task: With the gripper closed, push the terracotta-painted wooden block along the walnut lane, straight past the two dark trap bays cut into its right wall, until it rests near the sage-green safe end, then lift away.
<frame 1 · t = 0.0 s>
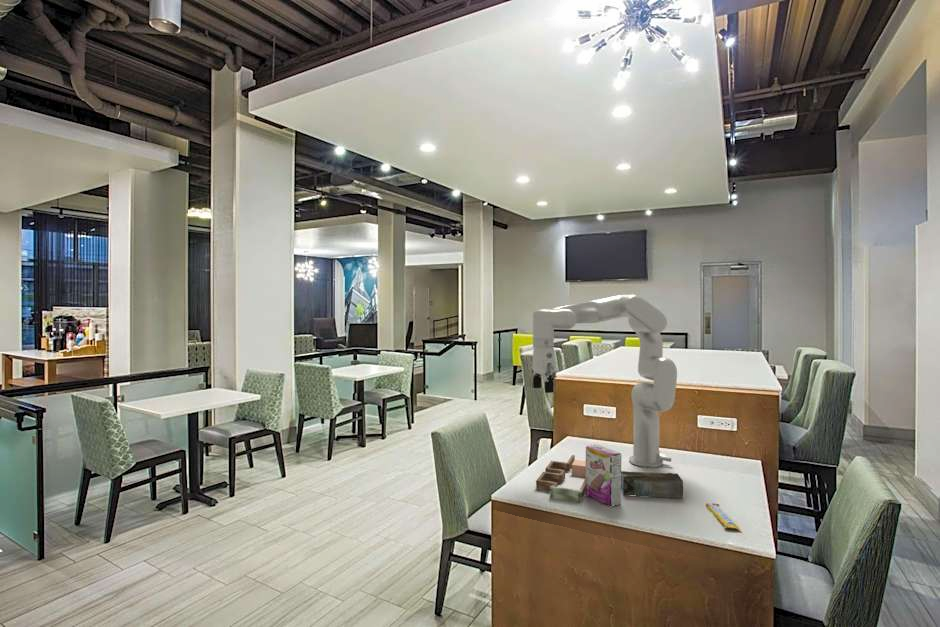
hand: (543, 390, 181), 31 cm above the table, tool pointing down, fingers open, 9 cm apart
block: (580, 473, 184), on the table
dark boxy piece: (650, 494, 165), on the table
candy bar: (721, 520, 146), on the table
trap lane: (576, 480, 176), on the table
candy bar box: (602, 500, 159), on the table
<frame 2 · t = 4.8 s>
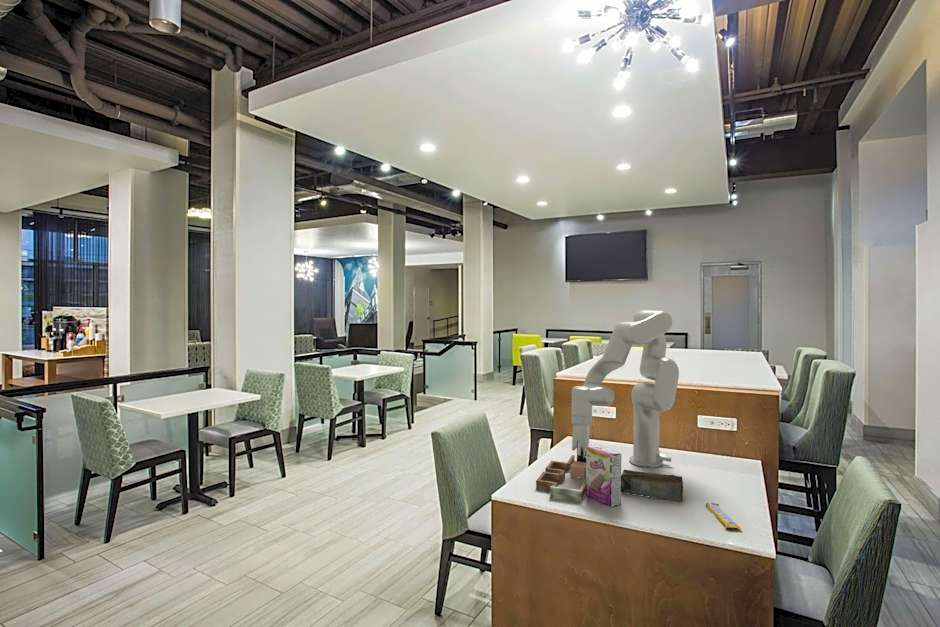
hand: (581, 467, 187), 1 cm above the table, tool pointing down, fingers closed
block: (579, 475, 182), on the table
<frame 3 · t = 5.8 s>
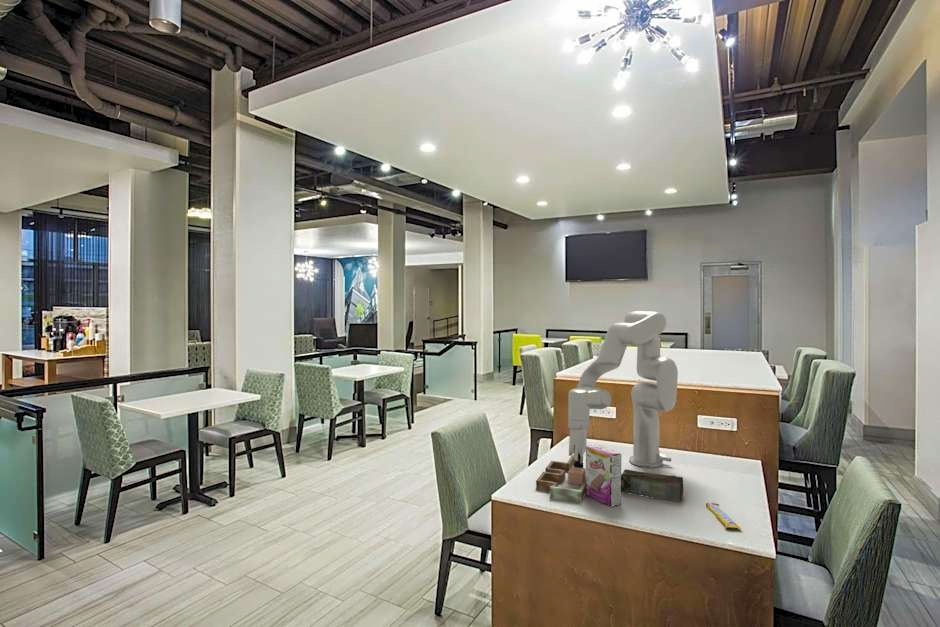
hand: (578, 473, 181), 1 cm above the table, tool pointing down, fingers closed
block: (576, 481, 176), on the table, touching gripper
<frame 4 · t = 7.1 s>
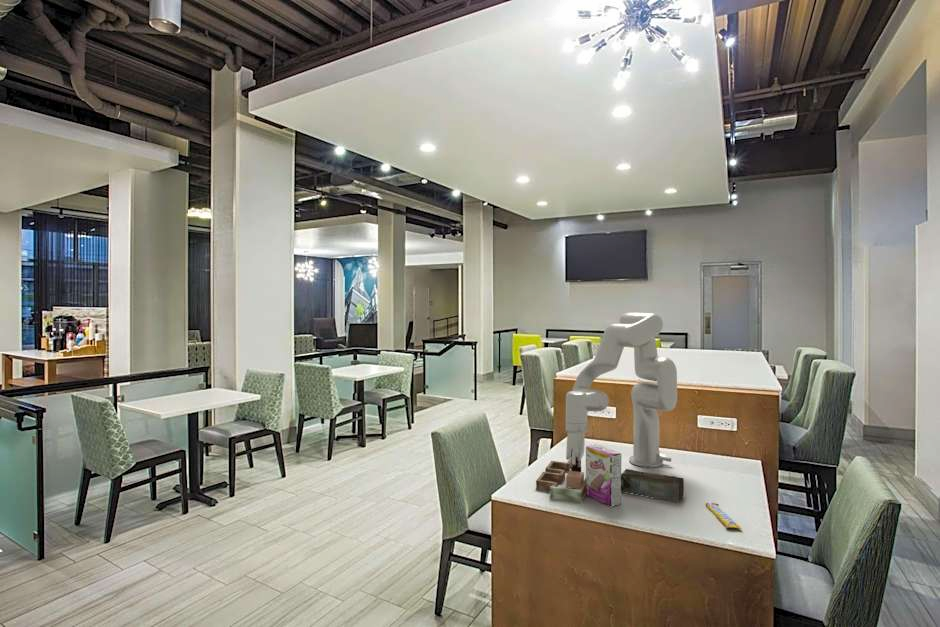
hand: (576, 477, 176), 1 cm above the table, tool pointing down, fingers closed
block: (575, 485, 171), on the table, touching gripper
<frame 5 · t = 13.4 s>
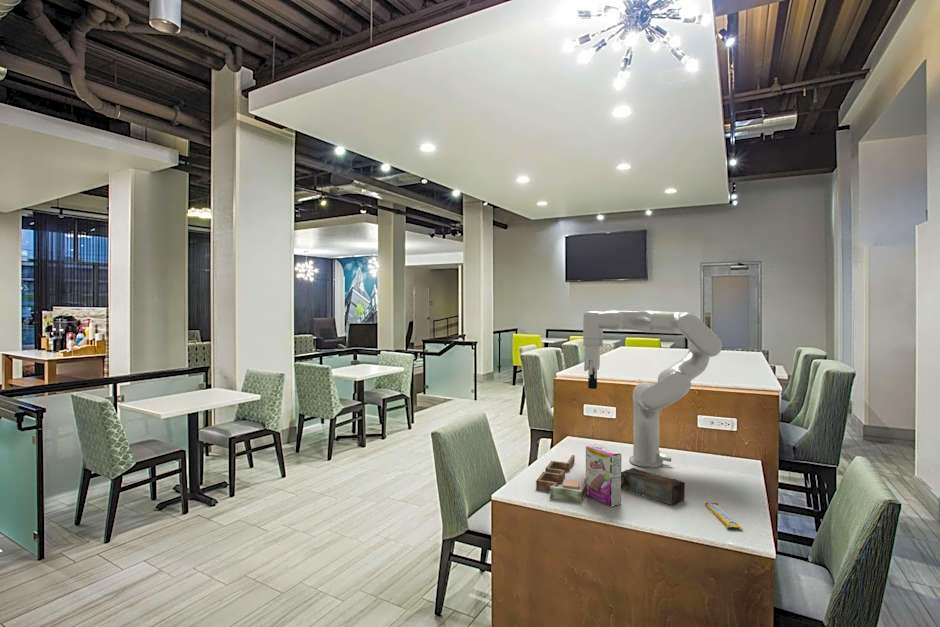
hand: (592, 388, 197), 29 cm above the table, tool pointing down, fingers closed
block: (570, 494, 164), on the table
at the end: block inside the target area (1.2 cm from its centre), on the table; block moved 21.3 cm from its start; block tilted 0° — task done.
